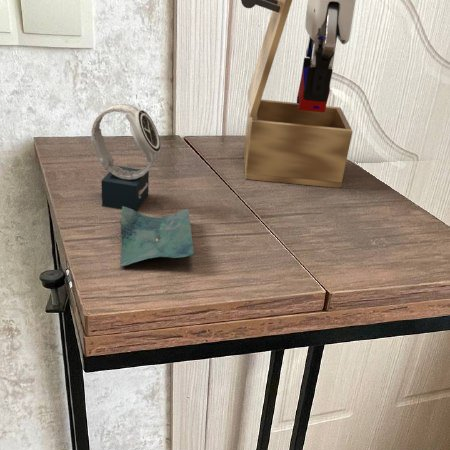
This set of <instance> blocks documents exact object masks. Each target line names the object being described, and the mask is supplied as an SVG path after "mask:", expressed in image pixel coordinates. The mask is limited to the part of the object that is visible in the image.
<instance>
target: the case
mask: <svg viewBox="0 0 450 450" xmlns="http://www.w3.org/2000/svg"><path fill="white" fill-rule="evenodd" d="M352 136H353V129H352V127H351V125H350V123H349V121H348V119H347V117H346V115H345V113H344V111H343V109H342V107H340V106H329V105H326V108H325V112H313V111H303V110H299V103H297V102H290V101H281V100H270V99H262V98H261V101H260V105H259V108H258V111H257V114H256V117H255V118H253V117H250V114H249V108H248V110H247V119H246V129H245V136H244V145H243V146H244V147H243V161H244V178H245V180H249V181H261V182H272V183H282V184H292V185H304V186H312V187H313V186H314V187H324V188H335V189H336V188H337V189H341V187H342V184H343V183H342V182H343V180H344V179H343V178H344V174H345V169H346V165H347V159H348V155H349V150H350V145H351V141H352Z"/></svg>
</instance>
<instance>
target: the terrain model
mask: <svg viewBox="0 0 450 450" xmlns="http://www.w3.org/2000/svg"><path fill="white" fill-rule="evenodd" d="M120 216H121V217H120V231H121V233H120V235H121V247H120V261H119V267H125V266H128V265H131V264H135V263H138V262H142V261H144V260H148V259H154V258H171V259H176V258H178V259H179V258H185V257H186V258H187V257H189V256H192V255H194V253H195V252H194V245H193V243H194V242H193V237H192V228H191V221H190V220H191V219H190V210H189V208H185V209H182V210H179V211H178V212H176V213H173V214H172V215H171V214H170V215H165V216H162V217H156V216H148V215H145V214H142V213H140V212H138V211H135V210H132V209H130V208H127V207H124V206H122V209H121V214H120Z"/></svg>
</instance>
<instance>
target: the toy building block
mask: <svg viewBox="0 0 450 450" xmlns="http://www.w3.org/2000/svg"><path fill="white" fill-rule="evenodd" d="M302 69H303V72H302V71H301V77H300V81H299V86H298V90H297V95H296V103H299V110H303V111H313V112H325V108H326V106H328V105H327V104H328V100H329V96H330V93H331V86H330V87H329V93H328V98H327V101H326V102H319V101H309V100H305V99H304V97H303V95H304V89H305V83H306V76H307V70H308V68H307V67H303V66H302Z"/></svg>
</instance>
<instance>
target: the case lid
mask: <svg viewBox="0 0 450 450" xmlns="http://www.w3.org/2000/svg"><path fill="white" fill-rule="evenodd" d="M240 2H241V5H242V6H243V7H244V8H246V9H252V8H254V7H255V6H258V7H261V8H263V9H267V10H269V11H271V15H270V17H269V22H268V24H267V27H266V31H265V34H264V37H263V41H262V44H261V48H260V50H259V55H258V58H257V62H256V64H255V67H254V70H253V74H252V78H251V81H250V84H249V86H248V87H249V88H248V91H247V103H248V109H249V114H250V117H253V118H255V117H256V114H257V111H258V108H259V105H260V101H261V99H262V98H263V94H264V92H265V89H266V86H267V82H268V79H269V76H270V72H271V70H272V67H273V63H274V60H275V57H276V53H277V50H278V48H279V44H280V41H281V38H282V35H283V31H284V29H285V25H286V23H287V19H288V16H289V12H290V9H291V6H292V3H293V0H240Z"/></svg>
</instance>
